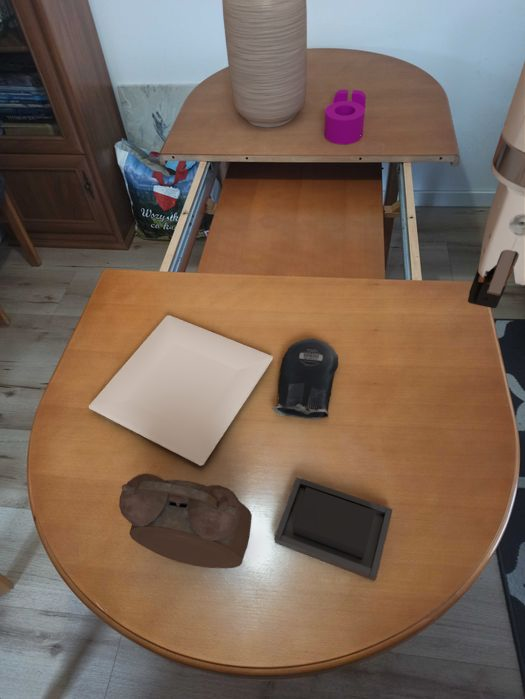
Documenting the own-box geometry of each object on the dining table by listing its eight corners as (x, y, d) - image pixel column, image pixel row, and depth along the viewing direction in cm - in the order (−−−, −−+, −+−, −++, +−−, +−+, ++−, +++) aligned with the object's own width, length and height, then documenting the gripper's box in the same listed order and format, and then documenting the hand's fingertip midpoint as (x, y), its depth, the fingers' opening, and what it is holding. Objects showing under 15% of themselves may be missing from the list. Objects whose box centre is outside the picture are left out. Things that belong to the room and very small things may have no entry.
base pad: (390, 514, 68) (392, 509, 66) (374, 581, 63) (376, 577, 61) (296, 482, 72) (296, 476, 70) (274, 543, 67) (274, 538, 65)
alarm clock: (260, 526, 68) (247, 463, 53) (248, 582, 64) (230, 532, 48) (161, 507, 71) (120, 442, 55) (143, 560, 67) (93, 505, 51)
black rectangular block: (372, 519, 67) (375, 510, 64) (362, 559, 64) (365, 551, 61) (306, 496, 70) (306, 486, 67) (293, 533, 67) (292, 525, 64)
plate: (274, 363, 85) (274, 355, 84) (204, 471, 74) (201, 465, 72) (169, 320, 93) (167, 313, 91) (91, 413, 82) (86, 406, 80)
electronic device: (333, 426, 79) (341, 345, 86) (329, 412, 74) (337, 327, 81) (276, 422, 81) (288, 344, 88) (269, 408, 77) (282, 327, 84)
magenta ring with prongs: (360, 145, 126) (362, 121, 121) (321, 143, 128) (322, 119, 123) (367, 114, 135) (369, 90, 130) (331, 112, 137) (332, 89, 132)
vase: (253, 93, 147) (242, -48, 121) (317, 103, 141) (320, -43, 114) (221, 126, 136) (202, -20, 110) (289, 138, 130) (285, -14, 104)
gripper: (588, 214, 38) (510, 357, 53) (588, 119, 46) (521, 265, 61) (486, 198, 40) (438, 340, 55) (503, 109, 48) (458, 253, 63)
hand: (482, 300), depth 58 cm, fingers closed
